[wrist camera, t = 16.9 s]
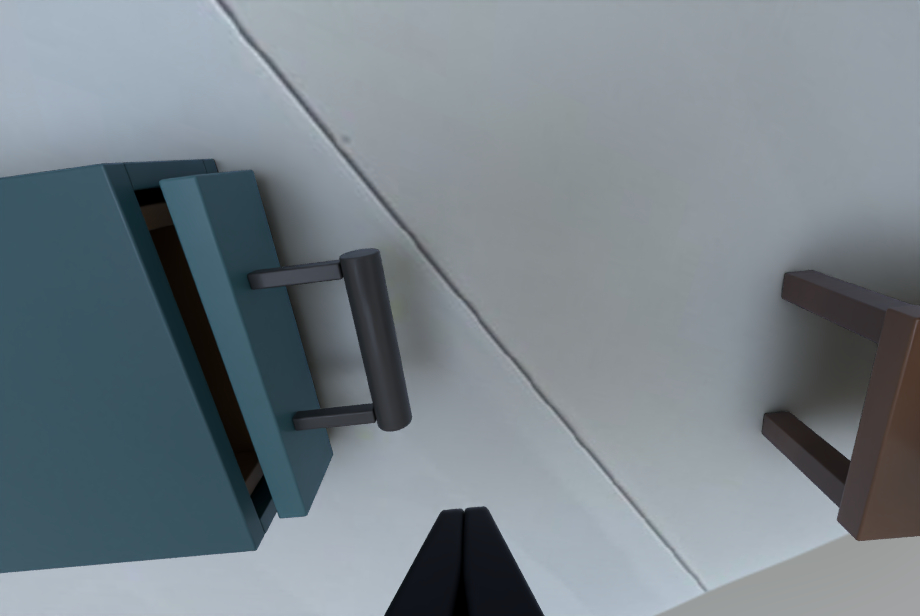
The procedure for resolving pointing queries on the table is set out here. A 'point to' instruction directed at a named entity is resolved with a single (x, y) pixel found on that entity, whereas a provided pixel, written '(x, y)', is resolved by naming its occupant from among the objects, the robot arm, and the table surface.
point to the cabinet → (106, 384)
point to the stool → (864, 413)
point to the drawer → (268, 332)
